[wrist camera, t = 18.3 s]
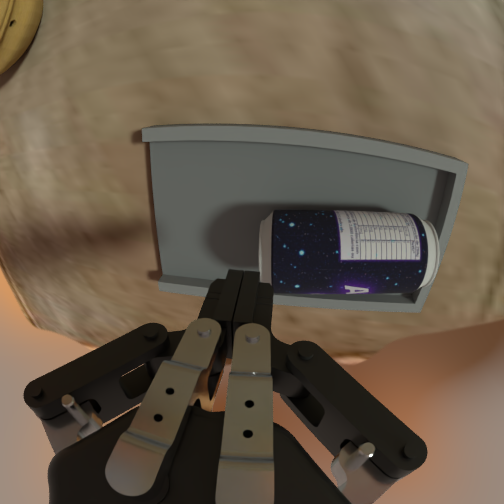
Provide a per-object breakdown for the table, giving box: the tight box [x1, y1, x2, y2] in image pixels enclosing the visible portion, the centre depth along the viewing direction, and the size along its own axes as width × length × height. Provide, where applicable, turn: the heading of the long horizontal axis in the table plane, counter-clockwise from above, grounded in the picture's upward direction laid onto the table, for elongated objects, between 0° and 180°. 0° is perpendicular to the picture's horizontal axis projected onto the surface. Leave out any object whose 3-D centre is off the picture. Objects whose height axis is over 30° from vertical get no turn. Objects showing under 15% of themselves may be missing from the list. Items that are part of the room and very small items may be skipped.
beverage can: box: [259, 210, 440, 294], centre depth 19 cm, size 6×6×12 cm
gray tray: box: [142, 124, 468, 312], centre depth 21 cm, size 24×14×2 cm, turn 88°
